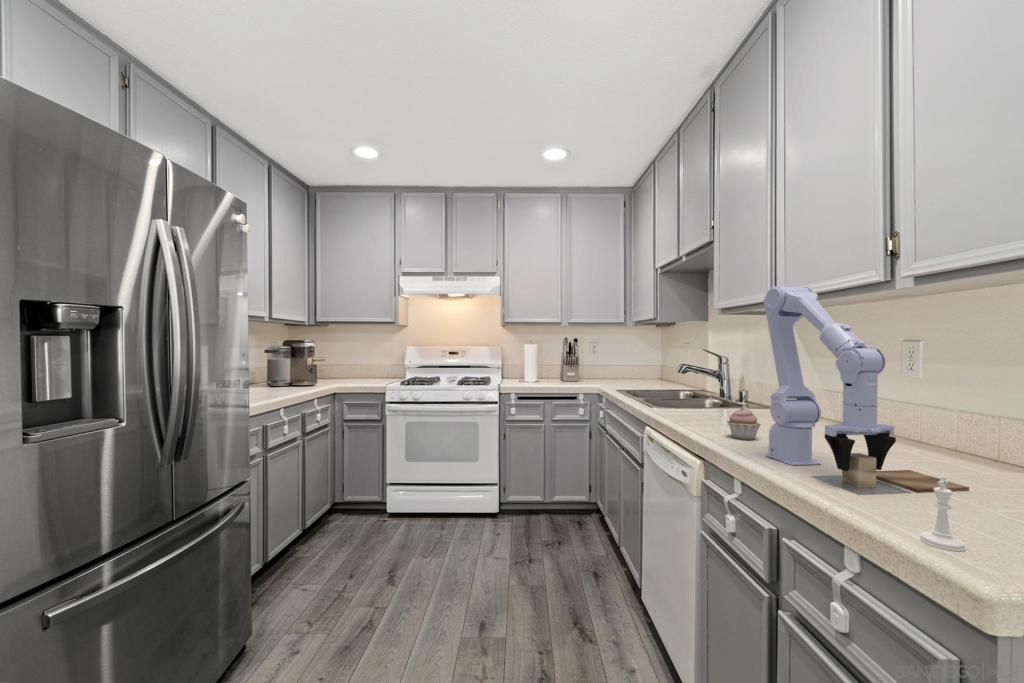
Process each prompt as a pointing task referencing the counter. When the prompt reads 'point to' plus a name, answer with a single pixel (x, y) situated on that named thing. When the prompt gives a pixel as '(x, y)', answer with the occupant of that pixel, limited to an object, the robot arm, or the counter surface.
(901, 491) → the tile
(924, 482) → the board
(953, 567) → the counter surface
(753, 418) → the cupcake
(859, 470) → the maple block
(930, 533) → the chess piece
